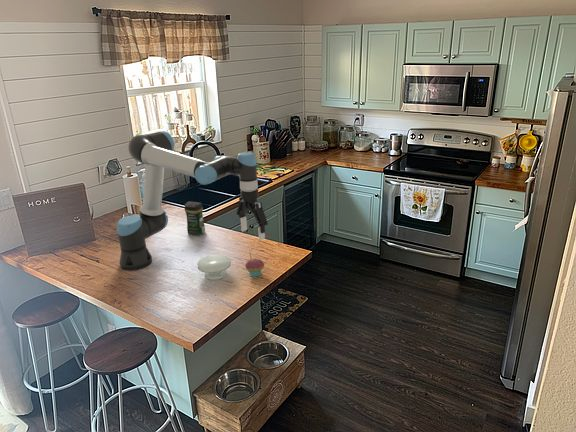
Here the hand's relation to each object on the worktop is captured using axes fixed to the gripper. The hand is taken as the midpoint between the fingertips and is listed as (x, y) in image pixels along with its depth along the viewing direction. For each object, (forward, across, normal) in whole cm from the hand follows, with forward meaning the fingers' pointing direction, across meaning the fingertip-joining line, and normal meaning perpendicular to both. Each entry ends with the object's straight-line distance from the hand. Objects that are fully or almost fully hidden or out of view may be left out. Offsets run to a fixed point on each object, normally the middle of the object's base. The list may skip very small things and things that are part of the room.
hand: (252, 234), depth 193 cm
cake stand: (+19, +12, +14) cm, 27 cm away
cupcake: (+20, 0, 0) cm, 20 cm away
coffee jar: (+19, +62, -3) cm, 65 cm away
